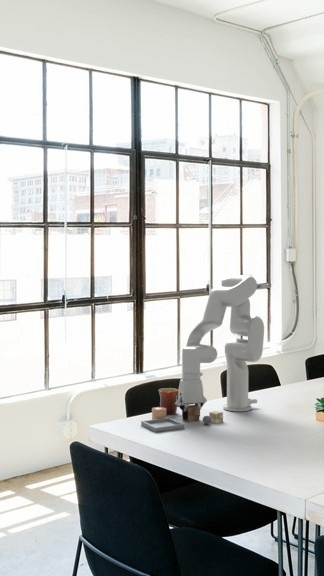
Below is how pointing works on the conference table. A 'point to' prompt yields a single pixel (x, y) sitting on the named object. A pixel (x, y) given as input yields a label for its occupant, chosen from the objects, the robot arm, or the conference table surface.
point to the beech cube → (216, 416)
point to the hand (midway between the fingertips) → (191, 418)
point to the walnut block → (193, 413)
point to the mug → (169, 399)
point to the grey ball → (206, 420)
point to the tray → (162, 424)
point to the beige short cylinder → (158, 413)
